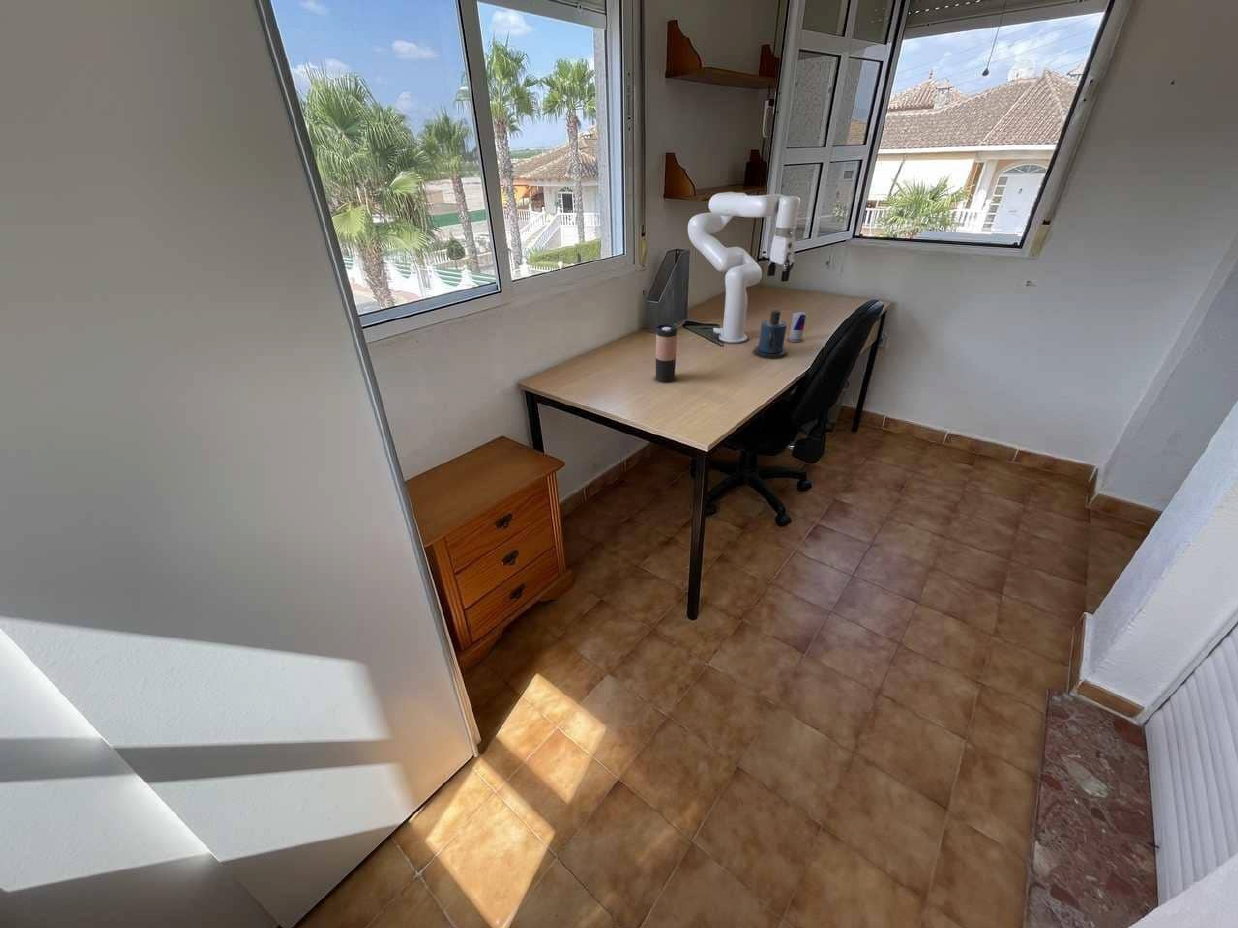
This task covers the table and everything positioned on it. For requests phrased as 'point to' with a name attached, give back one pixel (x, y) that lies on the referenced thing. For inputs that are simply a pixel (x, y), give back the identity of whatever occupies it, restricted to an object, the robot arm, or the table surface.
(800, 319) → the energy drink
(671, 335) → the travel mug
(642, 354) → the table surface
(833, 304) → the table surface
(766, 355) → the base
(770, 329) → the kettle
